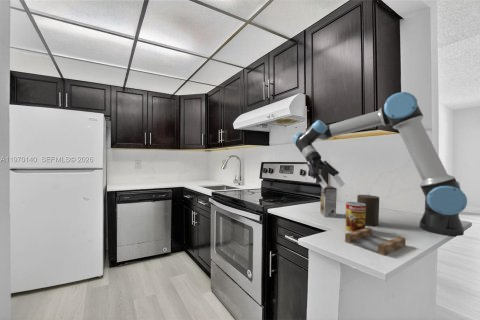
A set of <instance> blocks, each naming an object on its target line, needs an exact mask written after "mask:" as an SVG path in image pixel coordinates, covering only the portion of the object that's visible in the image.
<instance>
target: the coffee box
mask: <svg viewBox="0 0 480 320" xmlns="http://www.w3.org/2000/svg"><path fill="white" fill-rule="evenodd" d="M337 190H338V188H337V187H335V186H331V185H328V186H326V187H325V188H324V189H323V187H322V186H321V185H320V210H319V212H320V214H321V215H322V216H323V217H324V218H336V217H337V197H338V196H337V195H338V194H337V193H338V191H337Z"/></svg>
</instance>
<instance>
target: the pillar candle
mask: <svg viewBox="0 0 480 320" xmlns="http://www.w3.org/2000/svg"><path fill="white" fill-rule="evenodd" d="M356 197H357V198H356V199H357V201H356V202H358V203H363V204H365V205H366V214H365V226H369V227H377V226H379V220H380V219H379V218H380V196H378V195H371V194H357V196H356Z"/></svg>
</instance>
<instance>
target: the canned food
mask: <svg viewBox="0 0 480 320" xmlns="http://www.w3.org/2000/svg"><path fill="white" fill-rule="evenodd" d="M365 214H366V205H365V204H363V203H358V202H357V201H346V202H345V231H348V232H349V233H350V232H354V231H357V230H361V229H364V228H366V225H365Z"/></svg>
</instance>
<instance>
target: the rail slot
mask: <svg viewBox="0 0 480 320" xmlns="http://www.w3.org/2000/svg"><path fill="white" fill-rule="evenodd" d="M344 239H345V240H344V242H345V243H348V244H350V245H353V246H356V247H359V248H362V249H364V250H366V251H367V250H368V251H371V252H374V253H375V254H379V255H382V256H386V255H388V254H391V253H394V252H395V251H397V250H400V249H401V248H403V247H406V240H407V239H406V237H402V236H397V237H395V238H392V239H386V238H383V237H380V236H377V235H373V228H370V227H365V228H364V229H361V230H357V231H354V232H350V231H349V232H347V233H345V236H344Z"/></svg>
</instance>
